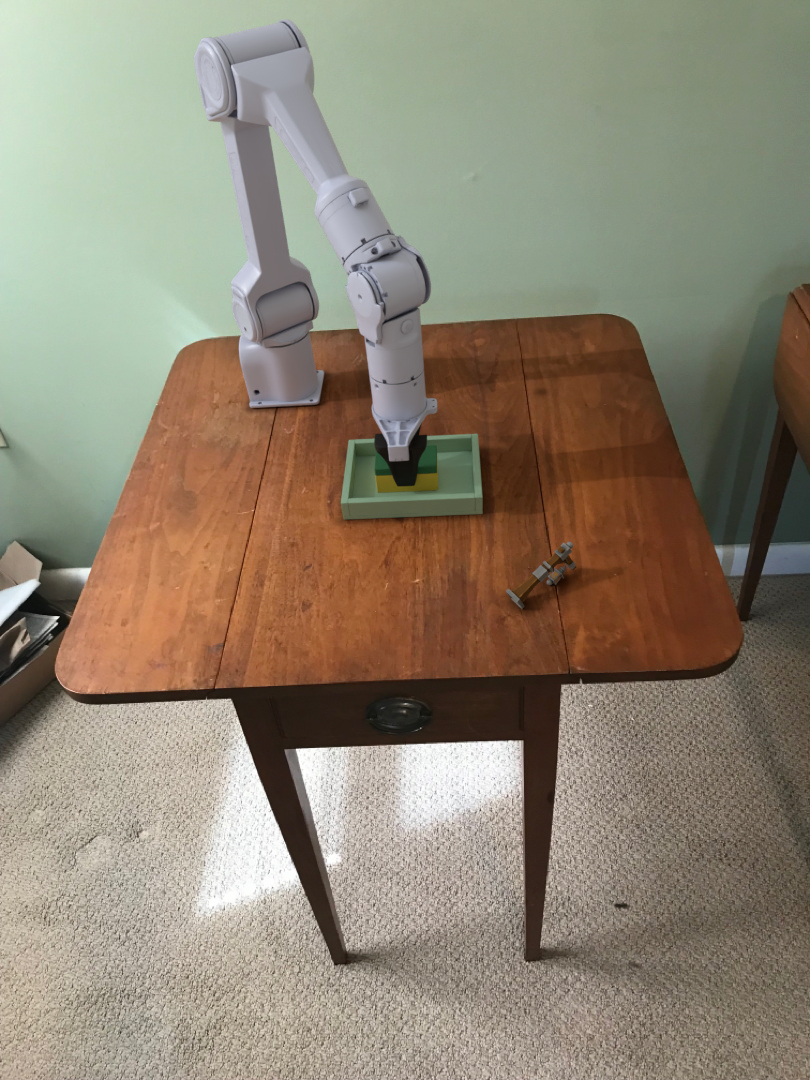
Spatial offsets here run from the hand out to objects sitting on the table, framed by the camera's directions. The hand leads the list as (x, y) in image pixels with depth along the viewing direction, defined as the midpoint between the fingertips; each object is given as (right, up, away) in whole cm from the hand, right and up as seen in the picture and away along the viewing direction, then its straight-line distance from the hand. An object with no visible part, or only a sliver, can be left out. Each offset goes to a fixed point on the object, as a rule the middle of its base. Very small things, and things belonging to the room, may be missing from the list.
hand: (406, 471), depth 89 cm
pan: (+1, -1, +1) cm, 2 cm away
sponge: (0, -1, +1) cm, 1 cm away
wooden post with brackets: (+13, -13, -12) cm, 22 cm away
